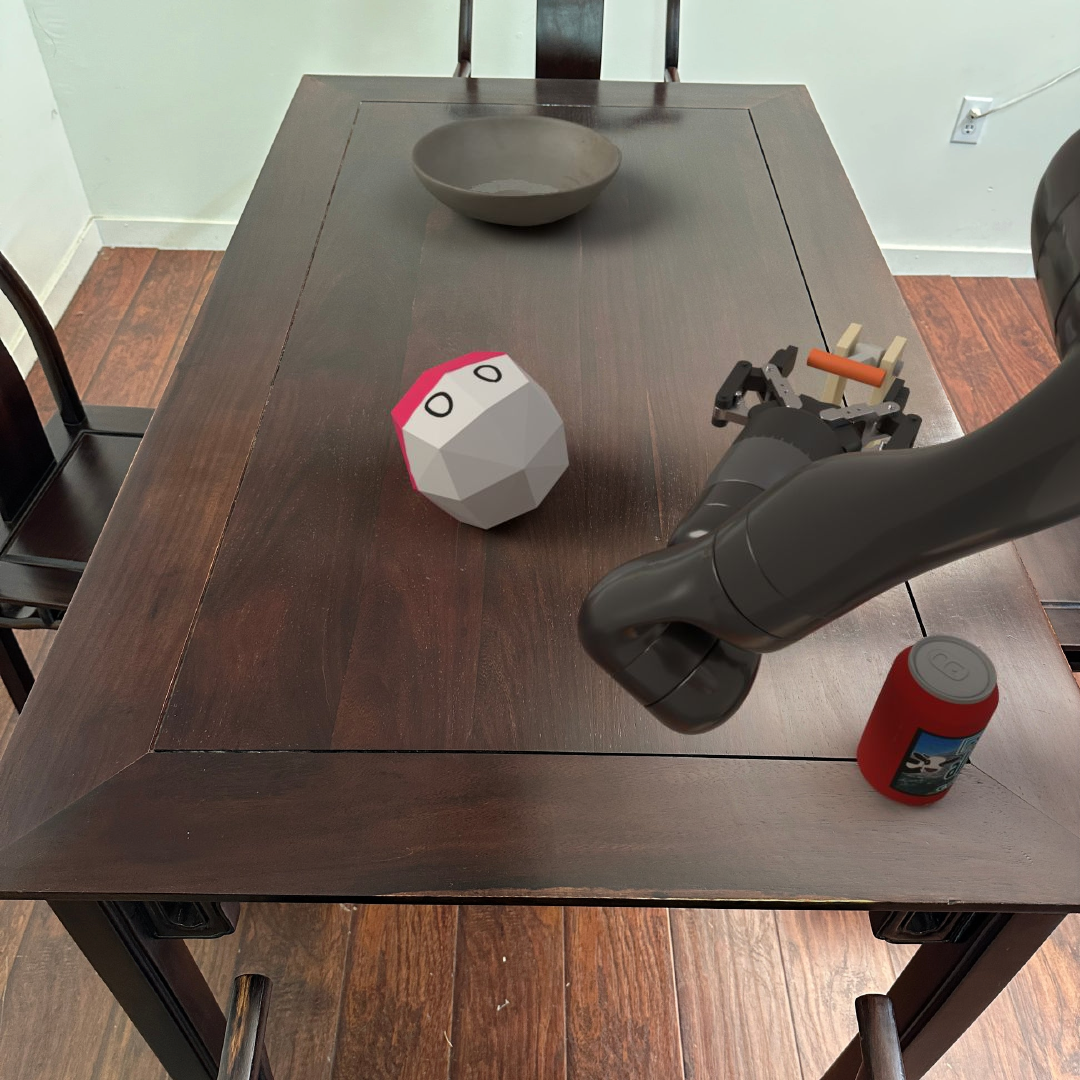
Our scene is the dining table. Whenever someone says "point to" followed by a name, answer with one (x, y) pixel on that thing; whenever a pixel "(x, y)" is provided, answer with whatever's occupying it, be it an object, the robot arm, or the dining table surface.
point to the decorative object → (481, 438)
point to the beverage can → (927, 719)
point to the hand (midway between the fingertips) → (843, 371)
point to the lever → (853, 364)
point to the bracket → (888, 363)
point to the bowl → (515, 166)
